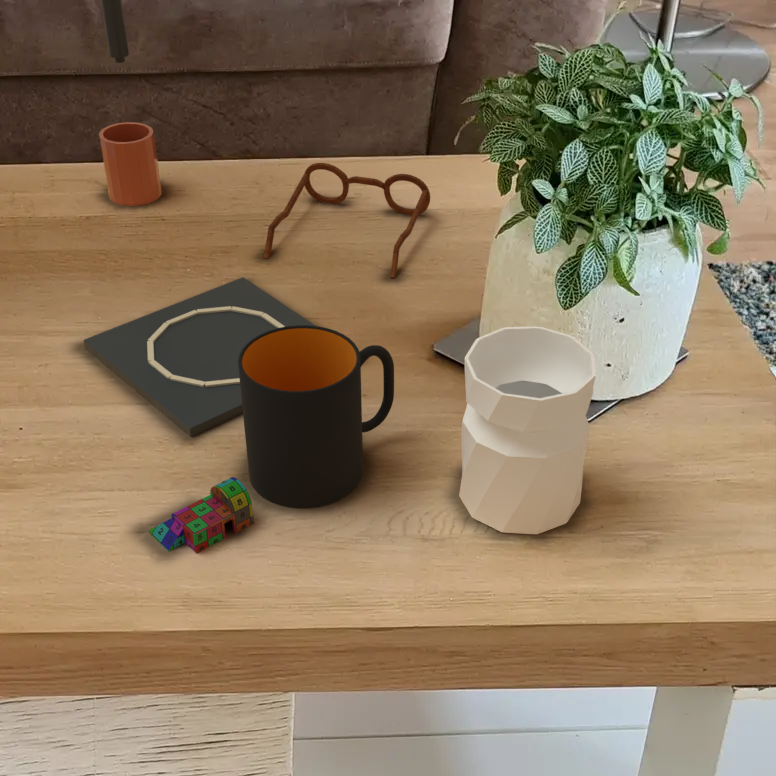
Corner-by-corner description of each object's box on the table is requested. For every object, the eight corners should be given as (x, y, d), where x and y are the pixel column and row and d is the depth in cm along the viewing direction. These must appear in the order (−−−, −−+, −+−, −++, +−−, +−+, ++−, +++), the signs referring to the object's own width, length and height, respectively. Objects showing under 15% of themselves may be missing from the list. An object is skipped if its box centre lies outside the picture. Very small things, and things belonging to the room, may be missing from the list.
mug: (426, 463, 87) (428, 347, 80) (288, 528, 81) (279, 407, 75) (362, 410, 92) (360, 296, 86) (228, 467, 86) (215, 349, 80)
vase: (513, 446, 89) (524, 311, 81) (604, 499, 84) (624, 362, 77) (433, 498, 84) (436, 359, 76) (524, 558, 79) (538, 417, 72)
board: (191, 441, 88) (189, 426, 87) (85, 351, 97) (82, 337, 96) (355, 363, 97) (355, 349, 96) (244, 288, 106) (242, 274, 105)
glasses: (431, 219, 118) (431, 173, 114) (394, 282, 108) (394, 233, 104) (307, 201, 120) (305, 156, 117) (260, 262, 110) (256, 213, 107)
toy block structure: (221, 497, 83) (216, 460, 81) (254, 527, 81) (250, 489, 79) (147, 535, 80) (140, 497, 78) (179, 566, 78) (173, 528, 76)
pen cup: (126, 214, 117) (116, 148, 112) (100, 196, 120) (89, 131, 115) (171, 199, 120) (163, 134, 115) (144, 181, 122) (135, 117, 118)
